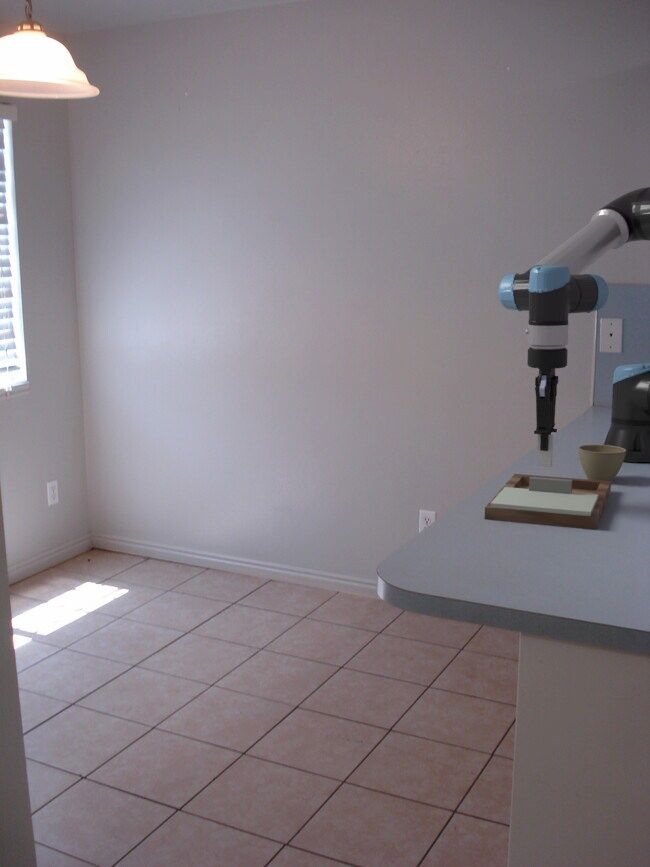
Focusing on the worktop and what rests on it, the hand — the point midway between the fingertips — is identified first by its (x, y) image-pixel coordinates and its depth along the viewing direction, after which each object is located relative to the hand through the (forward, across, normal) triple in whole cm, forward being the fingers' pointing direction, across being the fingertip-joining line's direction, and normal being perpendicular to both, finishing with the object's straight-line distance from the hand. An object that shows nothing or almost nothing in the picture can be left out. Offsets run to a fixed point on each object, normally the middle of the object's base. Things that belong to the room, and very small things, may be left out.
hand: (544, 465), depth 187 cm
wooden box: (+7, +1, +2) cm, 8 cm away
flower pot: (+8, -24, +9) cm, 27 cm away
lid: (+5, +9, +2) cm, 11 cm away
